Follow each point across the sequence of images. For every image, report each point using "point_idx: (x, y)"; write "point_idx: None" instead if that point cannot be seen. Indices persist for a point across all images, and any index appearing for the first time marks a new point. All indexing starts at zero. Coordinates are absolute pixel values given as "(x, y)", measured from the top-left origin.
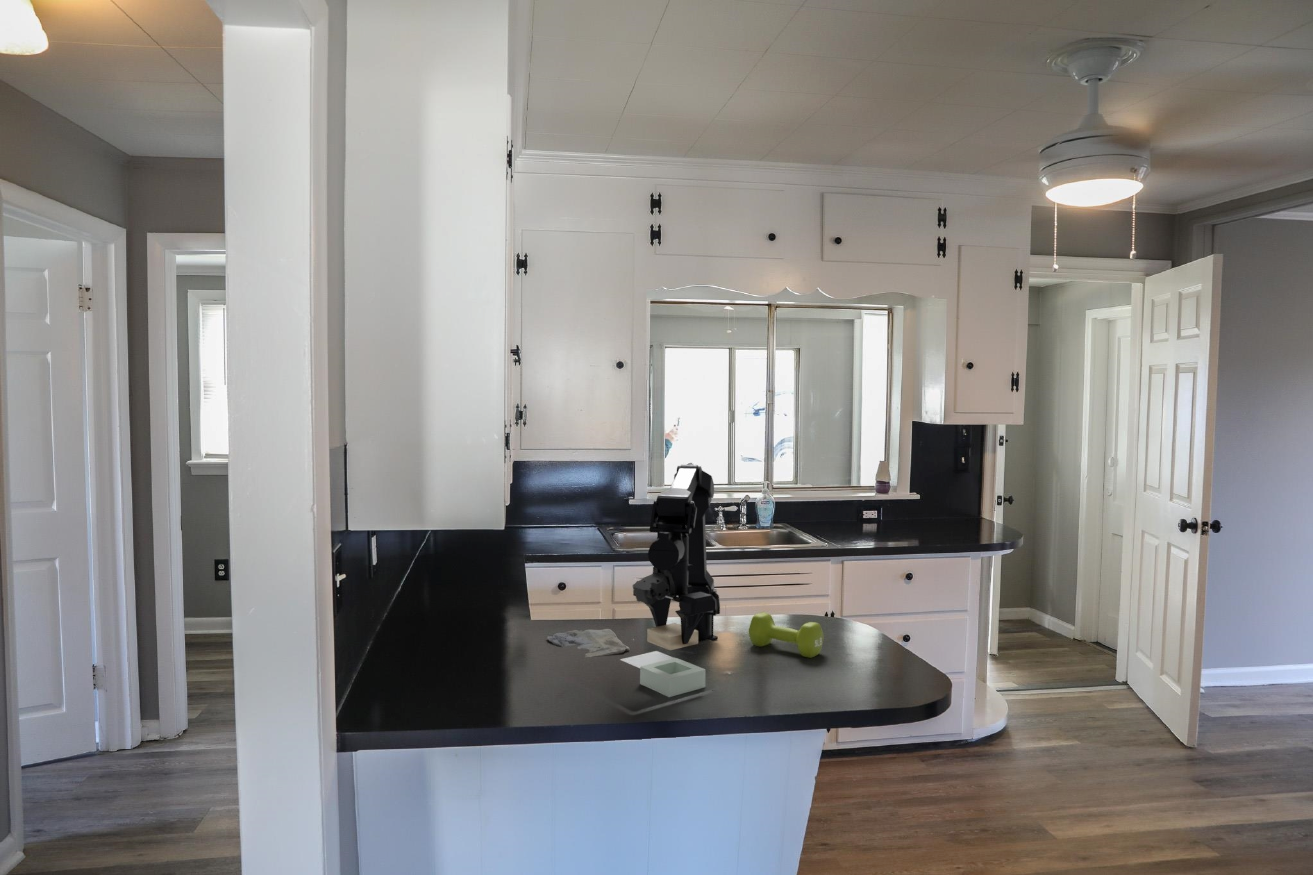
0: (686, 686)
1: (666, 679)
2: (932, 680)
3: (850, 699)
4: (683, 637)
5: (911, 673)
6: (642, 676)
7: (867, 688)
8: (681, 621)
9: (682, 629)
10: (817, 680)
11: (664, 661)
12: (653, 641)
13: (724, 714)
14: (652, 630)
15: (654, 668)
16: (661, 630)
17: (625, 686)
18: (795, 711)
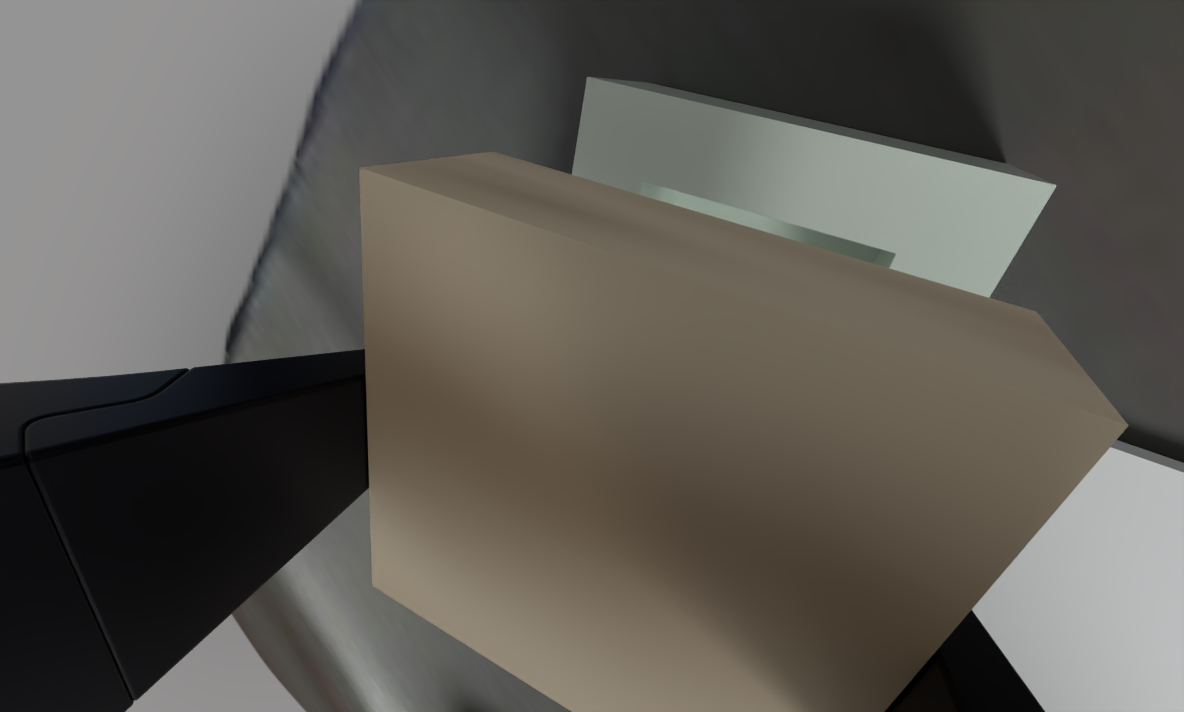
0: None
1: (627, 85)
2: (265, 655)
3: None
4: (352, 351)
5: (309, 688)
6: (988, 164)
7: (292, 575)
8: (69, 432)
9: (247, 385)
10: (391, 599)
11: None
12: (843, 262)
13: (348, 122)
14: (887, 352)
15: (861, 227)
16: (713, 441)
17: (1170, 77)
18: (259, 324)
